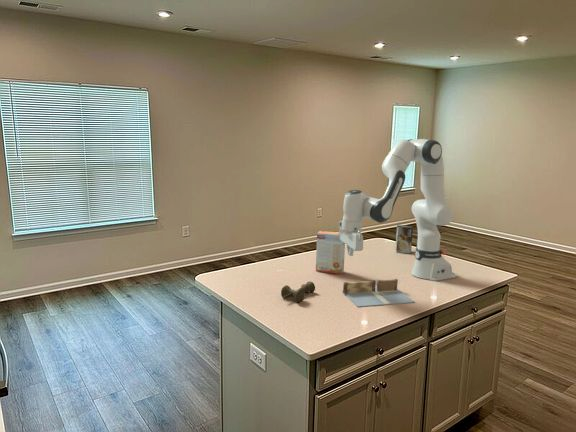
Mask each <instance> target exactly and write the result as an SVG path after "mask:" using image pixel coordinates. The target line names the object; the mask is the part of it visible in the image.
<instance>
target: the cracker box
mask: <svg viewBox="0 0 576 432" xmlns="http://www.w3.org/2000/svg"><path fill="white" fill-rule="evenodd" d="M315 252H316V253H315V255H316V257H315V271H316V272H319V273H320V272H322V273H329V274H336V275H342V274H343V273H344V270H345V253H346V244H345V243H344V242H342V241H341V240H340V237H339V232H337V231H328V230H327V231H326V230H318V232H317V233H316V251H315Z"/></svg>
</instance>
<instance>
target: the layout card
mask: <svg viewBox="0 0 576 432" xmlns="http://www.w3.org/2000/svg"><path fill="white" fill-rule="evenodd" d="M398 281H399V279H398V278H394V279H383V280H382V279H377V280H376V287H375V291H370V292H355V293H343V290H342V291H341V292H342V293H343V294H344V295H345V296H346V297H347V298H348V299H349V300H350V301H351V302H352V303H353V304H354V305H355V306H356V307H357V308H363V307H365V308H366V307H375V306H390V305H400V304H401V305H402V304H413V303H416V301H415V300H414V299H412V298H411V297H409V296H408V295H407V294H406V293H404V292H403V291H401V290H400V289H399V288H398Z"/></svg>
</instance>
